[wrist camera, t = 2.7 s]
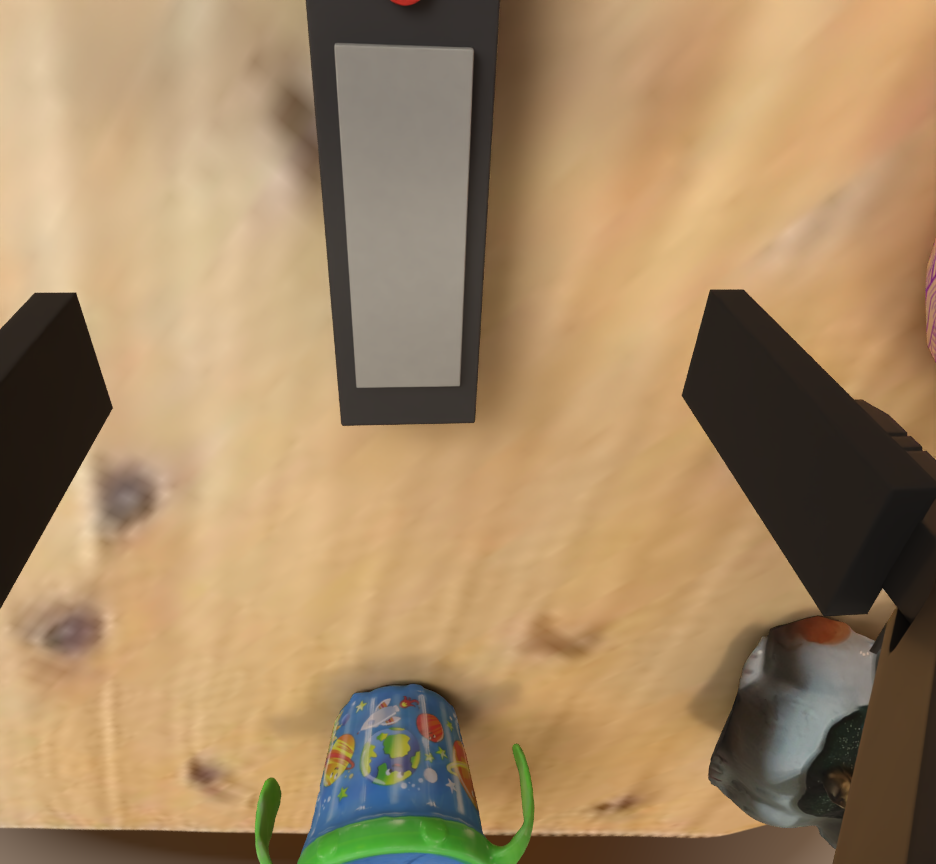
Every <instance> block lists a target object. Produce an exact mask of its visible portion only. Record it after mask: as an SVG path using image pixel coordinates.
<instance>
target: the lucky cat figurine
mask: <svg viewBox="0 0 936 864" xmlns="http://www.w3.org/2000/svg"><path fill="white" fill-rule="evenodd" d="M874 642H875V641H874V640H871V639H869V638H867V637H865V636H863V635H860V634H857V633H855V632H854V631H853V630H852V629H851V627H850V626H849V625H848V624H846V623H844V622H842V621H839V620H835V619H831V618H827V617H822V616H816V617H812V618H806V619H803V620H799V621H796V622H792V623H789V624H785V625H781V626H776V627H774V628H772V629H770V631H769V634H768V635H767V636H766V637H764V636H762V637H761V639H760V641H759V643H758V645H757V646H756V648H755V649H754V650H753V652H752V653H751V654H750V656H749V657H748V659H747V660H746V662H745V664H744V666H743V669H742V675H741V678H740V683H739V689H738V693H737V696H736V699H735V702H734V705H733V707H732V710H731V712H730V714H729V717H728V719H727V721H726V724H725V726H724V728H723V730H722V733H721V735H720V737H719V740H718V742H717V744H716V747H715V749H714V752H713V754H712V757H711V763H710V766H709V773H708V776H709V777H708V778H709V780H710V781H711V784H713V785H714V786H717V787H718V788H719V789H720V790H721V791H722V793H723V794H724V795H726V796H727V797H728V798H730V799H731V800H732V801H733V802H734V803H735V804H736V805H737V806H738V807H739V808H741V809H742V810H743V811H744V812H745V813H746V814H748V815H749V816H750V817H752V818H753V819H755V820H757V821H760V822H762V823H765V824H768V825H771V826H776V827H782V828H796V827H804V826H812V825H813V826H817V827H818V829H819V832H820V835H821V836H822V837H823V838H824V839H825V840H826V841H827V842H828V843H829V844H830V845H831V846H832V847H833V848H834V849H836V847H837V842H838V838H839V833H840V829H841V824H842V820H843V816H844V811H845V807H846V802H847V798H848V793H849V789H850V785H851V780H852V776H853V771H854V767H855V762H856V758H857V754H858V749H859V745H860V740H861V736H862V731H863V727H864V723H865V718H866V714H867V709H868V705H869V700H870V696H871V692H872V687H873V683H874V678H875V674H876V669H877V665H878V661H879V656H880V652H881V649H880V650H879V651H878V653H877V654H874V653H872V652H870V651H869V650H870V649H871V647H872V645H873V644H874Z"/></svg>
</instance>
